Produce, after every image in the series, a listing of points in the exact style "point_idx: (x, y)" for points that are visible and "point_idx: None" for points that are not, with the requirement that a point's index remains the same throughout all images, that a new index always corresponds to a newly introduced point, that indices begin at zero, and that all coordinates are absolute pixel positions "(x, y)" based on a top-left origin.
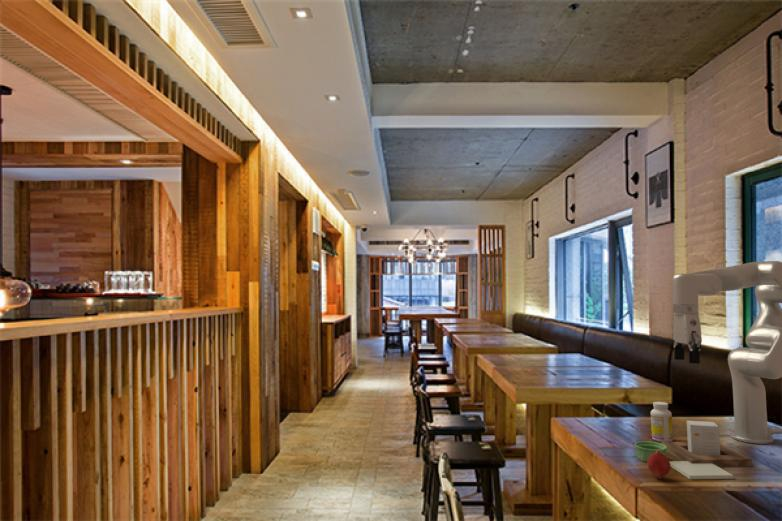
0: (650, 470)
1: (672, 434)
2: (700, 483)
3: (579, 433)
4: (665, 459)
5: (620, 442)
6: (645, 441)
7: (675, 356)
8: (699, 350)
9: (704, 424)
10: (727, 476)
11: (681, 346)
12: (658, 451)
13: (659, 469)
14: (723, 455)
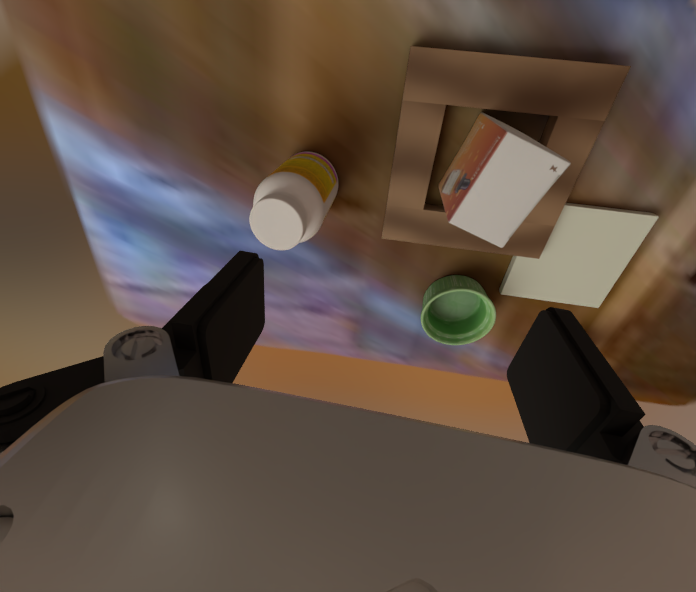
0: None
1: (325, 165)
2: (624, 298)
3: None
4: None
5: (324, 293)
6: (425, 311)
7: (253, 342)
8: (687, 451)
9: (524, 200)
10: (648, 229)
11: (186, 373)
12: None
13: None
14: (552, 142)
